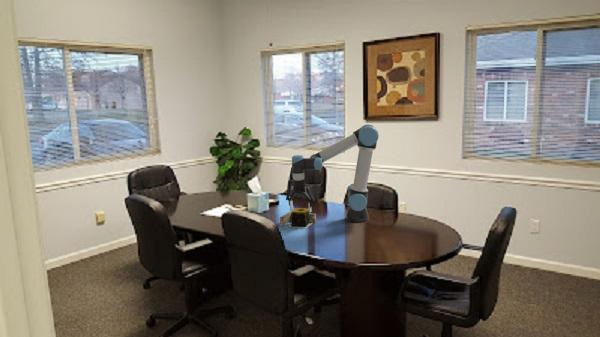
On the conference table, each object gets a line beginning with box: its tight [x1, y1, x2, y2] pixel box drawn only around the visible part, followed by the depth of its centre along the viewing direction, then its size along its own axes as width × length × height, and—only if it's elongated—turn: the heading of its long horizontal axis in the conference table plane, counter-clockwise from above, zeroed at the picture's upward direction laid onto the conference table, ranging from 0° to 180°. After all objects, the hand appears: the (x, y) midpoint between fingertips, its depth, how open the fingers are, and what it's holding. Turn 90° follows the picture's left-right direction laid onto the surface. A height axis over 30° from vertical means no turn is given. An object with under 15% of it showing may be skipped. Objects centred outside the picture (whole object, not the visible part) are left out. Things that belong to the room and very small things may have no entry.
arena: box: [279, 210, 317, 227], centre depth 299 cm, size 19×15×6 cm
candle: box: [290, 207, 310, 228], centre depth 297 cm, size 10×10×10 cm
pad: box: [287, 223, 314, 230], centre depth 298 cm, size 12×12×1 cm
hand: (300, 211), depth 296 cm, fingers open, 13 cm apart
